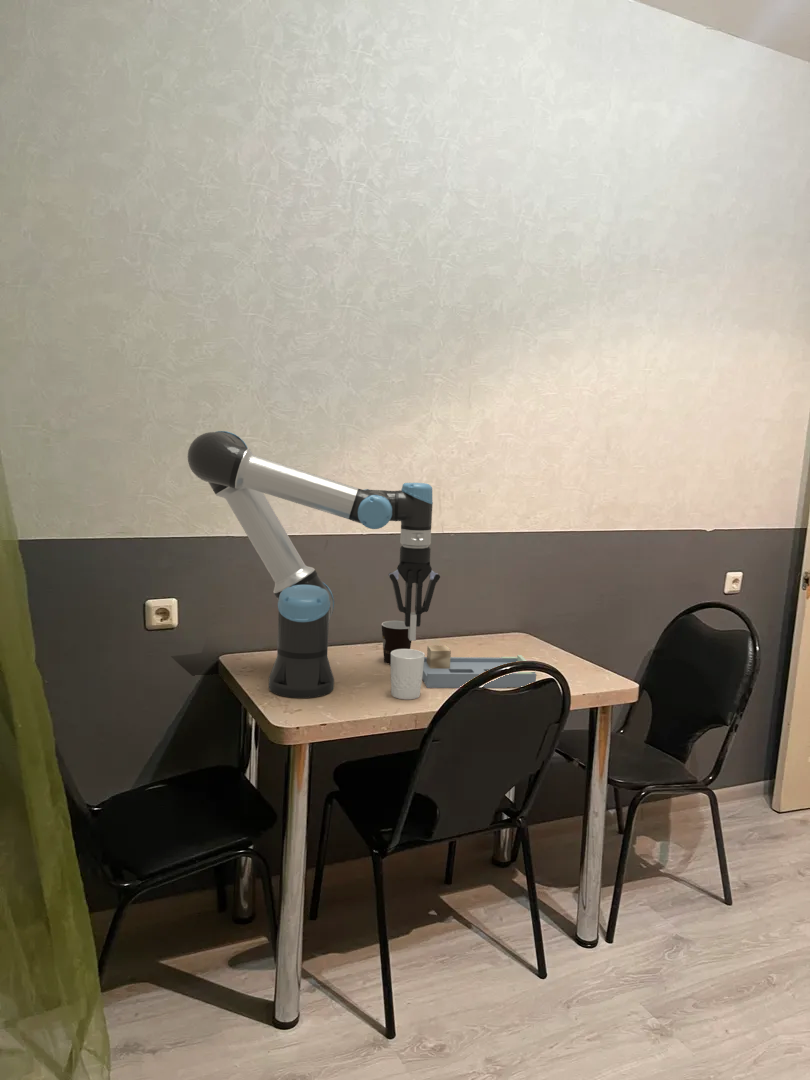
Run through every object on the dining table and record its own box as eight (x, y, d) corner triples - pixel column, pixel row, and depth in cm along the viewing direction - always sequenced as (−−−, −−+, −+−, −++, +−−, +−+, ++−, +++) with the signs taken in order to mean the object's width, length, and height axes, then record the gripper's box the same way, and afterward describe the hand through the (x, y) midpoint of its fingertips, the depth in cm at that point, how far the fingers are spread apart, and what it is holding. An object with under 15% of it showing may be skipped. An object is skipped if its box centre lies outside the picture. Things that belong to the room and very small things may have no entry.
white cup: (410, 687, 194) (412, 647, 192) (429, 697, 187) (431, 656, 186) (382, 692, 190) (384, 650, 188) (400, 702, 183) (402, 660, 182)
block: (430, 668, 202) (431, 650, 201) (426, 662, 206) (427, 645, 206) (449, 668, 202) (450, 651, 202) (445, 662, 207) (446, 645, 207)
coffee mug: (408, 667, 210) (410, 630, 208) (376, 664, 211) (378, 627, 210) (417, 655, 221) (418, 620, 219) (386, 652, 223) (388, 617, 221)
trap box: (427, 687, 194) (428, 669, 194) (417, 670, 208) (418, 653, 207) (535, 687, 198) (536, 670, 198) (518, 670, 212) (520, 653, 211)
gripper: (391, 547, 194) (387, 643, 198) (444, 548, 196) (440, 642, 200) (387, 543, 202) (384, 635, 205) (438, 543, 204) (434, 635, 207)
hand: (411, 638), depth 202 cm, fingers closed
